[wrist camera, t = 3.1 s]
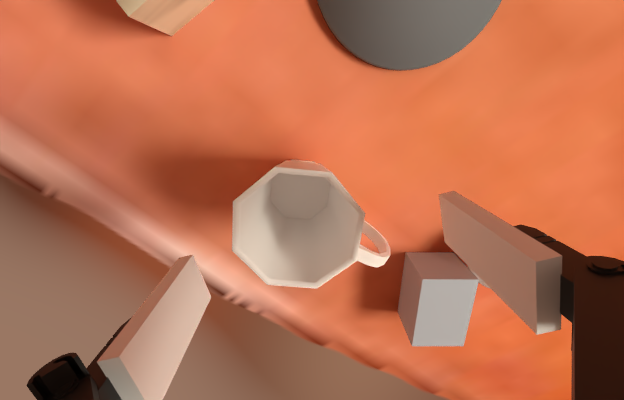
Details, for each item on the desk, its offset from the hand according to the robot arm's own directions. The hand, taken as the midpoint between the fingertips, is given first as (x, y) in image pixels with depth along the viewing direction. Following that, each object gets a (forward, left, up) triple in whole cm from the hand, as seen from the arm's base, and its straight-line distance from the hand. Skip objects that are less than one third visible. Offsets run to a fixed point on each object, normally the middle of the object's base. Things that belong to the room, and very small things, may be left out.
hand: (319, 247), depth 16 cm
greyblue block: (+10, +7, -8) cm, 14 cm away
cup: (0, 0, -8) cm, 8 cm away
